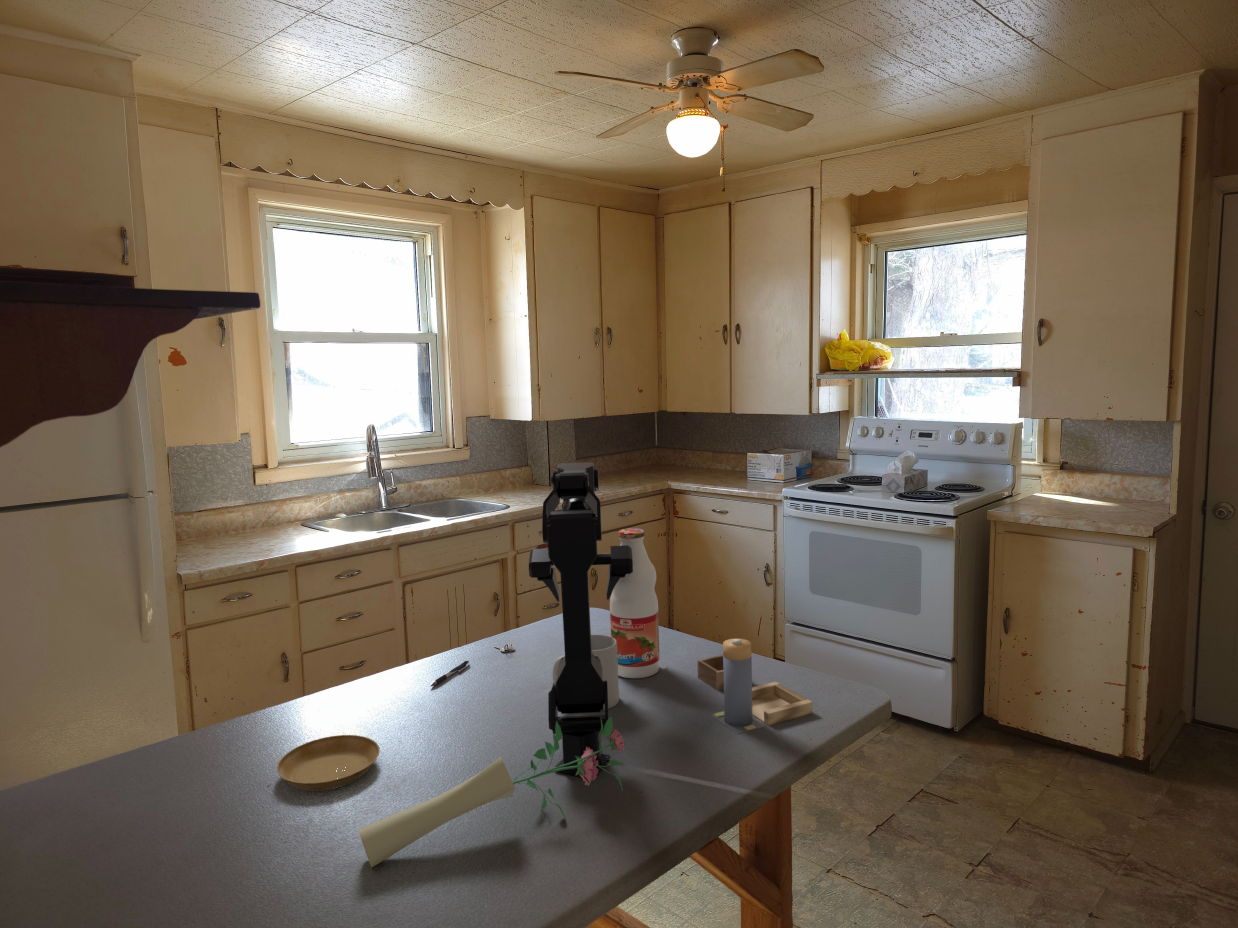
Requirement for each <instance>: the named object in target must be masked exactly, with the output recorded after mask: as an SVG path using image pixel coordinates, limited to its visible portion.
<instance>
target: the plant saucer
mask: <svg viewBox="0 0 1238 928" xmlns="http://www.w3.org/2000/svg"><path fill="white" fill-rule="evenodd" d="M380 752H381V751H380V746H379V744H378V743H377V742H376V741H375V740H373V739H372V738H370V737H366V736H362V735H356V734H339V735H332V736H325V737H321V738H317V739H314V740H311V741H308V742H305V743H303V744H301V745H299V746H296V747H294V748H293V749H291V750H290V751H288V752H287V753H286V754H284V755H283V756H282V757H281V758H280V760H279V761H278V762H277V765H276V773H277V774H278V776H279V777H280V778H281V779H282V780H284V781H285V783H288V784H289V785H290V786H291V787H292V786H293V787H294V788H296V789H299V790H303V791H306V790H307V792H323V791H329V790H335V789H338V788H341V786H342V787H344V785H345V786H347V785H350V784H351V783H353V782H355V781H356V780H358V779H360V778H361V777H362V776H364V774H366V772H368V770H370V769H371V767H372V766H373V764H374V763H375V762H376V761H377V759H378V757H379V756H380ZM345 767H346V768H345ZM337 768H338V769H337ZM336 770H337V772H336ZM342 770H343V771H342ZM344 770H345V771H344ZM337 778H338V779H337ZM337 787H338V788H337ZM334 788H335V789H334Z"/></svg>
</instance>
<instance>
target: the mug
mask: <svg viewBox="0 0 1238 928" xmlns="http://www.w3.org/2000/svg"><path fill="white" fill-rule="evenodd" d="M591 649H592V653H593V655H594V656H598V657H599V659H600V661H601V665H602V673H603V681H604V680H607V685H608V710H609V709H611V708H613V707H615V706H617V705H618V704H619V701H620V689H619V676H618V657H617V641H616V640H615V639H614V638H612V637H611V635H604V634H591ZM564 656H565V654H564V655H561V656H559V657H558V658H557V659H555V661H554V663H553V666H552V676H551V677H552V684H553V683H556V679H557V668H558V666H559V662H560V660H561V658H562V657H564ZM603 707H604V709H603V710H600V712H601V711H605V704H603Z"/></svg>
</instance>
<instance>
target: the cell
mask: <svg viewBox="0 0 1238 928" xmlns="http://www.w3.org/2000/svg"><path fill="white" fill-rule="evenodd" d="M722 655H723V668H724V690H723V699H724V700H723V706H724V707H723V709H724V710H723V711H724V718H725V722H726V723H727V724H729V725H732V726H746V725H749V724H751V723H752V721H753V718H752V716H753V715H752V687H753V673H752V672H753V671H752V670H753V669H752V668H753V663H752V657H753V655H752V642H751V641H750V640H748V639H744V638H729V639H726V640H724V641H723V643H722Z"/></svg>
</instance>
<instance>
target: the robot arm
mask: <svg viewBox="0 0 1238 928" xmlns="http://www.w3.org/2000/svg"><path fill="white" fill-rule="evenodd" d="M550 483H551V488H552V490H551V491H550V493H549V494H548V495H547V497H546V498H545V499H544V500H543V502H542V520H541V521H542V522H541V523H542V524H541V525H542V526H541V527H542V528H541V530H542V531H541V532H542V541H543V542H542V543H543V544H547V548H533V549H532V550H531V551H530V552H529V559H528V574H529V577H530V578H536V580H537V581H539V582H543V583H544V585H546V586H547V588H548V589H549V591H550V592H551V594H552V595H553V597H554V598H555V601H556V602H560V600H561V609H562V624H563V625H562V629H563V641H564V642H563V643H564V644H563V645H564V655H565V656H564V657H562V658H561V660H560V662H559V666H558V668H557V679H556V683H553V682H552V685H551V686H552V687H551V689H550V691H549V692H548V693H547V694H548V698H547V699H548V701H547V703H548V704H547V705H548V712H547V713H548V715H547V716H548V729H549V730H551V731H552V734H553V733H554V734H555V735H556V733H555V726H556V721H557V722H558V724H559V726H560V728H561V732H562V739H561V744H562V759H561V760H560V761H559V762H558V763H556V765H554V768H555V767H558V766H561V765H564V764H567V763H570V762H573V761H576V760H577V759H576V757H575V756H577V757H579V759H580V758H581V756H582V755H583V754H584V751H586V747H587V748H588V747H589V748H590V750H593V752H594V753H595V752H597V751H599V746H600V749H602V741H601V740H602V734H600V731H601V720H602V725H603V728H604V726H605V724H606V722H607V720H608V719H609V718H610V717H609V715H610V714H609V713H610V712H609V709H608V685H607V680H604V681H603V673H602V665H601V661H600V659H599V657H598V656H594V655H593V653H592V649H591V635H592V630H591V610H590V608H591V607H590V587H589V570H590V569H591V567H592V566H604V565H606V566H607V565H608V571H607V580H606V582H607V583H606V588H605V589H606V591H605V592H606V593H605V594H606V600H608V601H610V598H611V595H612V591H613V589H614V587H615V585H616V584H617V582H618V581H619V579H620V578H623V577H625V576H626V574H631V573H632V572H633V560H632V548H631V547H630V546H629V545H626V546H620V545H610V553H609V552H606V553H598V542H602V539H603V538H602V511H601V510H602V508H601V500H600V498H599V497H598V496H597V495H596V492H599V491H600V486H599V485H600V482H599V469H598V468H595V463H594V462H570V463H569V462H566V463H565V462H562V463H558V464H557V468H556V469H554V471H553V472H552V476H550ZM561 500H562V504H561V510H560V509H558V510H557V508H558V506H559V505H560V503H561ZM556 570H557V571H558V572H559V573H560V575H559V576H560V586H559V584H558V578H557V573H556ZM559 587H560V588H561V590H560V588H559ZM560 592H561V594H560ZM560 595H561V596H560ZM603 704H605V710H603V709H604V707H603ZM600 710H601V711H604V714H592V713H601V711H600ZM558 713H560V714H561V715H563V714H565V715H566V714H570V715H571V714H586V715H571V716H570V715H567V716H565V715H564V716H558V715H559V714H558ZM588 713H589V714H590V713H591V714H592V715H591V714H590V715H587V714H588ZM600 717H601V719H600ZM599 734H600V735H599ZM598 737H599V739H598ZM599 741H600V742H601V744H600V742H599ZM589 748H588V749H589ZM594 755H595V754H594ZM596 756H597V757H596V759H595V760H598V765H599V766H607V765H608V764H609V762H610V760H611V759H610V758H611V755H610V754H604V753H602V751H600V752H598V753H597V754H596ZM577 765H578V762H575V763H573V764H570V765H567V766H564V767H570V766H577ZM561 768H563V767H561ZM596 768H597V769H598V773H599V772H601V770H603V769H604V767H601V768H600V767H598V766H596ZM602 768H603V769H602ZM558 769H559V768H558ZM577 771H578V768H572V769H566V770H561V771H557V772H559V773H564V774H568V775H573V776H575V775H576V773H577ZM576 776H578V777H581V776H580V775H579V774H578V775H576Z"/></svg>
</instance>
